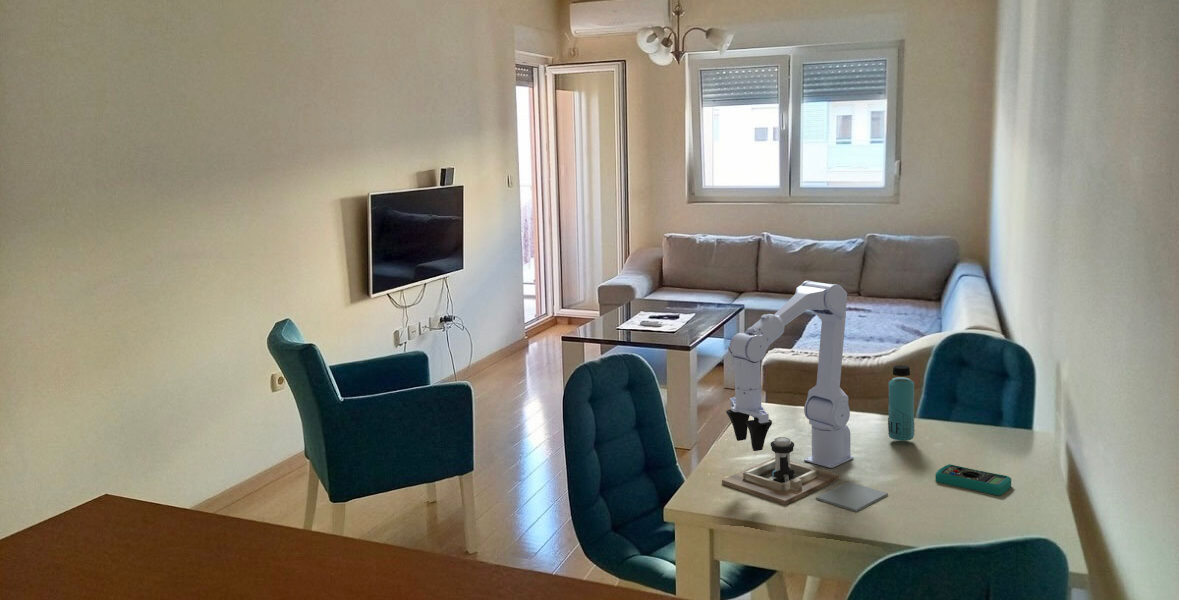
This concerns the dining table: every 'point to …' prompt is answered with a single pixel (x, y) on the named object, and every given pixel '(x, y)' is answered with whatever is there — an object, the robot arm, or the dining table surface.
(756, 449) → the robot arm
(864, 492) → the rubber mat
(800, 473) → the brown flat rectangular frame
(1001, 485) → the digital multimeter
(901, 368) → the beverage bottle
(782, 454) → the push button
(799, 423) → the dining table surface
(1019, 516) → the dining table surface
